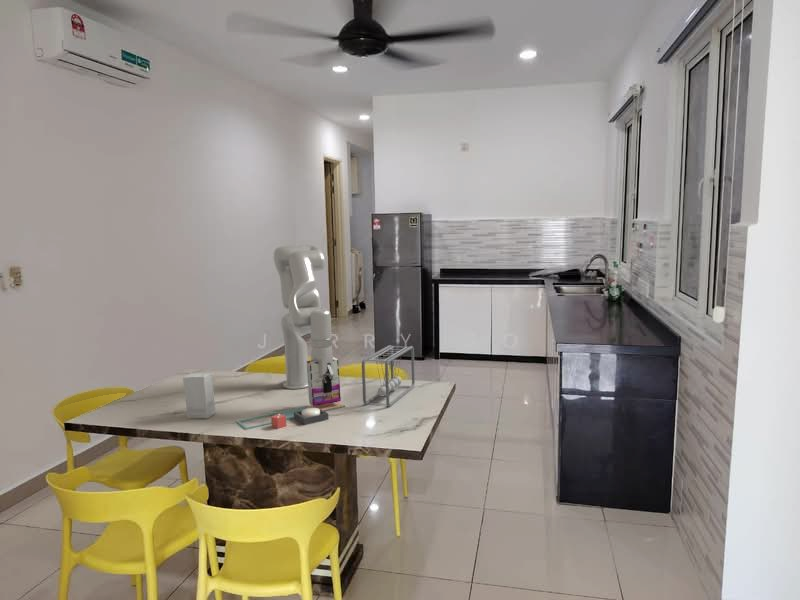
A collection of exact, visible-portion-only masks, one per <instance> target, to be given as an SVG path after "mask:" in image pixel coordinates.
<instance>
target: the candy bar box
mask: <svg viewBox="0 0 800 600" xmlns="http://www.w3.org/2000/svg"><path fill="white" fill-rule="evenodd" d="M306 362H307V377H308V387H307V388H308V390H307V391H308V402H309V404H310V405H312V406H318V405H324V404H329V403H334V402H338V403H340V402H341V399H342V398H341V385H340V383H341V382H340V370H339V369H340V367H339V366H340V365H339V359H338V358H336V357H335V356H333V366H334V371H333V373H334V376H333V378H332V392H329V393H324V389H323V383H324V378H323V375H319V368H318V362H317V361H314V360H311V359H310V360H308V361H306ZM326 374H328V372H326ZM327 376H329V375H327ZM327 376H326V378H327Z"/></svg>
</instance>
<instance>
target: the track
mask: <svg viewBox="0 0 800 600" xmlns="http://www.w3.org/2000/svg"><path fill="white" fill-rule="evenodd" d="M306 406H307V405H306ZM306 406H300V407H296V408H292V409H287V410H282V411H277V412H272V413H267V414H263V415H257V416H253V417H249V418H245V419H239V420H236V422H235V423H236V424H238V425H239V426H241V427H242V428H243V429H244V430H250V429H254V428H260V427H264V426H267V425H272V424H271V421H269V422H265V423H260V424H255V425H252V426H246V425H245V424H243V422H248V421H251V420H252V421H253V420H257V419H260V418H265V417H269V416H275V415H278V414H281V415H284V416H286V421H290V420H293V419H294V412H297V411H302V410H304V409H307V408H306ZM308 406H311V404H310V405H308ZM345 407H346V405H344V406H342V407H337V408H333V409H328V410H324V411H325V412H329V411H334V410H337V409H342V408H345Z"/></svg>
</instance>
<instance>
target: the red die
mask: <svg viewBox="0 0 800 600" xmlns="http://www.w3.org/2000/svg"><path fill="white" fill-rule="evenodd" d="M270 422H271V424H270V425H271V427H272V428H274V429H278V430H279V429H282V428H284V427H286V426H287V420H286V416H284V415H281V414H278V415H271V417H270Z"/></svg>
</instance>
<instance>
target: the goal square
mask: <svg viewBox="0 0 800 600" xmlns="http://www.w3.org/2000/svg"><path fill="white" fill-rule="evenodd" d="M310 405H311V404H310ZM342 406H345V404H342V403H340V402H334V403H329V404H324V405H318V406H312V405H311V406H309V405H306V407H305V408H315V407H317V408H319V409H321V410H323V411H324V410H328V409H333V408H337V407H342ZM342 408H343V407H342Z"/></svg>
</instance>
